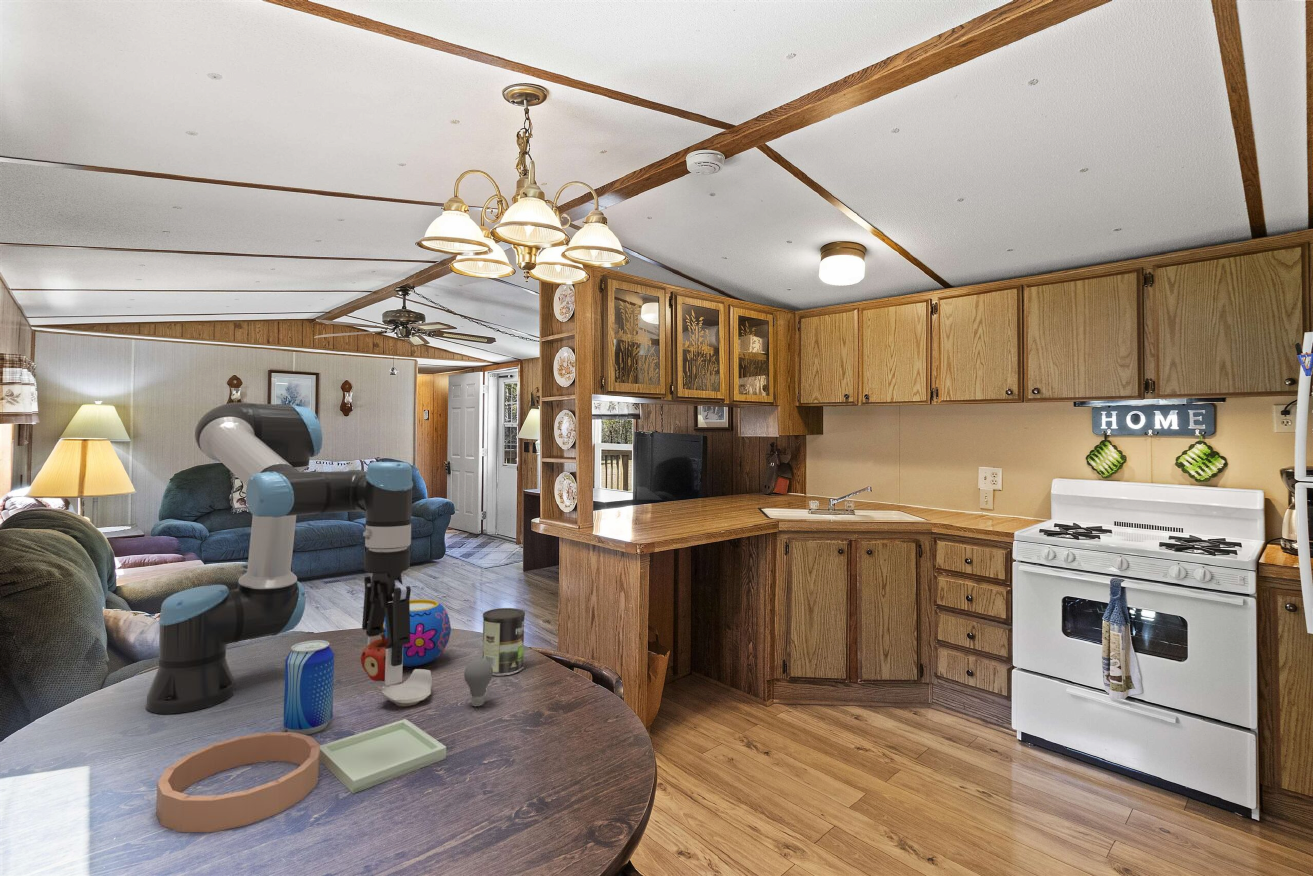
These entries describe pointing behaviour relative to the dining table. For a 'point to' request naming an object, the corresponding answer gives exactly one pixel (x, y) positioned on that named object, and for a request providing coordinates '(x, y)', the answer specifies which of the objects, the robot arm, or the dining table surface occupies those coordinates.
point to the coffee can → (503, 639)
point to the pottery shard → (410, 689)
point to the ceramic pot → (425, 632)
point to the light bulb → (478, 679)
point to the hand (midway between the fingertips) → (384, 677)
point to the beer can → (308, 687)
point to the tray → (380, 754)
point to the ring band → (240, 805)
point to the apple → (375, 659)
